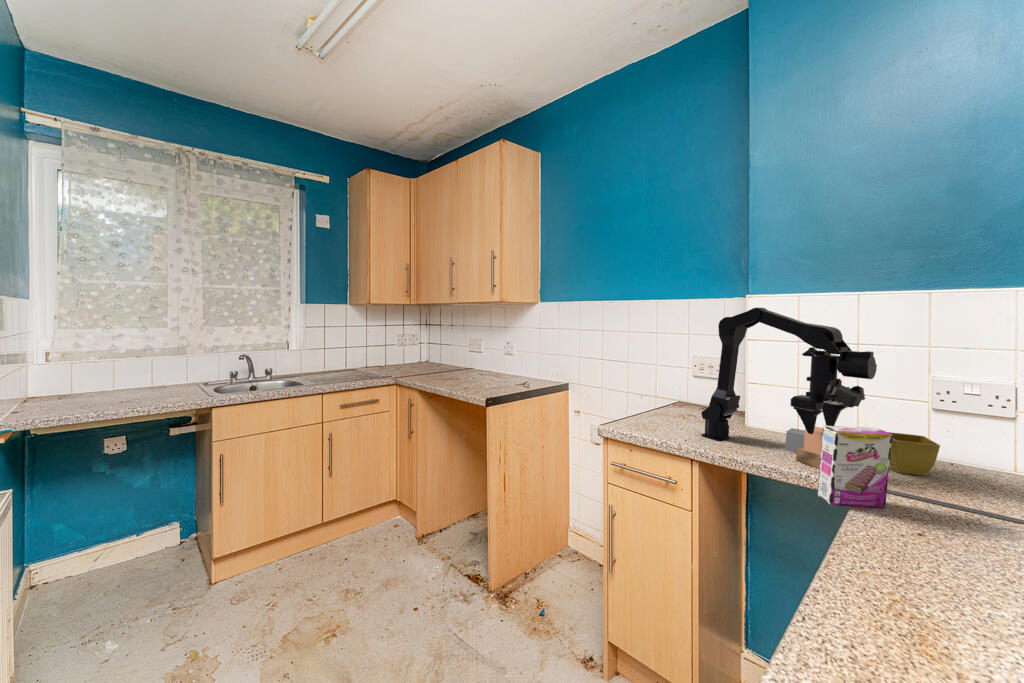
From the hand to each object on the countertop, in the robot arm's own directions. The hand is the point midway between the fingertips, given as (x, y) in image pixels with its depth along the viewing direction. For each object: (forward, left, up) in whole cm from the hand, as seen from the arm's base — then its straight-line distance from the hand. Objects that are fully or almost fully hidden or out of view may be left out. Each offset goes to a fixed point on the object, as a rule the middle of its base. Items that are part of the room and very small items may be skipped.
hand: (820, 431), depth 113 cm
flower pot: (+13, +16, -10) cm, 23 cm away
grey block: (-9, +7, -9) cm, 15 cm away
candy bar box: (+16, -18, -10) cm, 26 cm away
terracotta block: (0, 0, -6) cm, 6 cm away
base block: (0, 0, -10) cm, 10 cm away
